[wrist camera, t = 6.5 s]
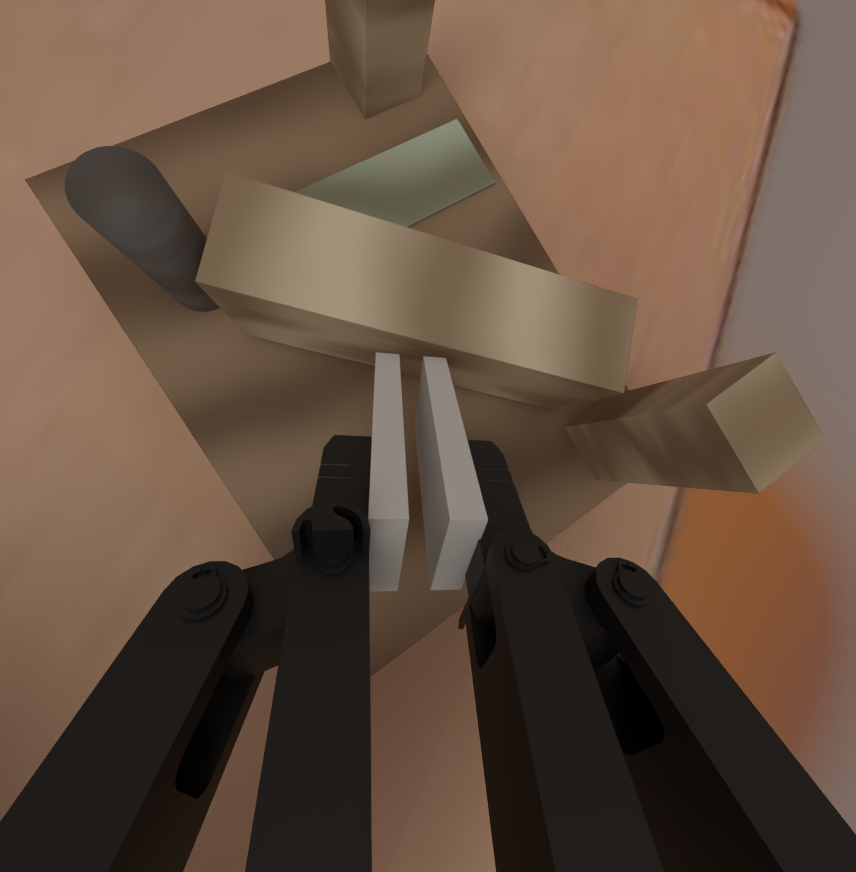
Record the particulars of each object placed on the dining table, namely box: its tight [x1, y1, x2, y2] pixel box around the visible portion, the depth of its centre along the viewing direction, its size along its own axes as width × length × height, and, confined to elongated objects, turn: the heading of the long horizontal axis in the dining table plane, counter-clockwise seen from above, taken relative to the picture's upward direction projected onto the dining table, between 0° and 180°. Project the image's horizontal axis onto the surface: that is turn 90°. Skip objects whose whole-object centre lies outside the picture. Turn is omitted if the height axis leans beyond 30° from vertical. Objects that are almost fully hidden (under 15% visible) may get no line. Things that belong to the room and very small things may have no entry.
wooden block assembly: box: [25, 0, 825, 677], centre depth 14 cm, size 24×18×10 cm
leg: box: [195, 171, 638, 410], centre depth 14 cm, size 14×4×4 cm, turn 78°
